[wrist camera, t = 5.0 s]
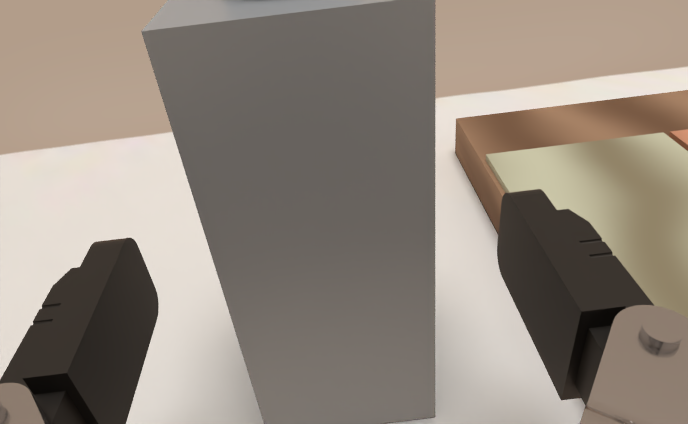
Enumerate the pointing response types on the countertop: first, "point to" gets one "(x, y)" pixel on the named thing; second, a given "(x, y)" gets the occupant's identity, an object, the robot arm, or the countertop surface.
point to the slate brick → (314, 192)
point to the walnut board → (598, 176)
